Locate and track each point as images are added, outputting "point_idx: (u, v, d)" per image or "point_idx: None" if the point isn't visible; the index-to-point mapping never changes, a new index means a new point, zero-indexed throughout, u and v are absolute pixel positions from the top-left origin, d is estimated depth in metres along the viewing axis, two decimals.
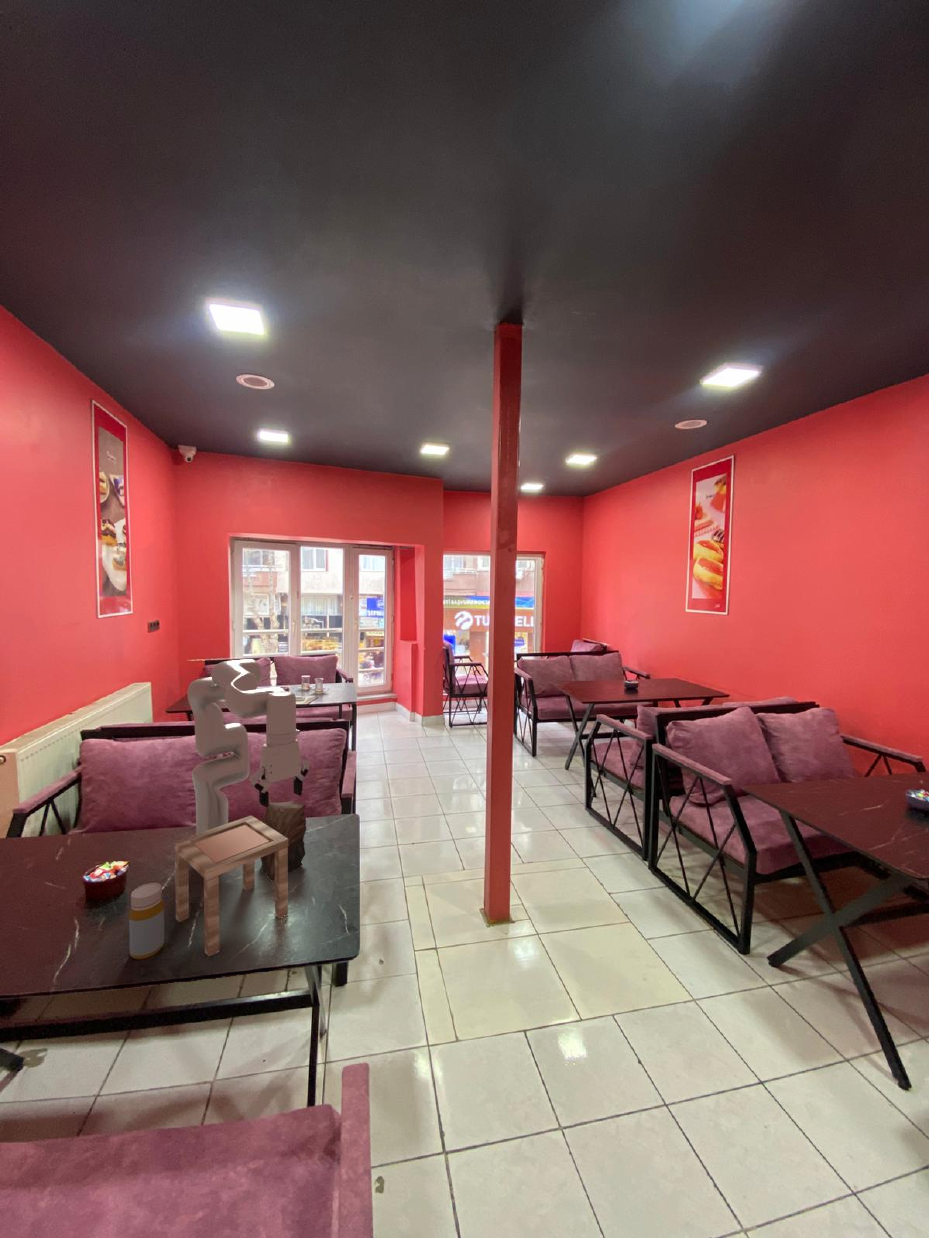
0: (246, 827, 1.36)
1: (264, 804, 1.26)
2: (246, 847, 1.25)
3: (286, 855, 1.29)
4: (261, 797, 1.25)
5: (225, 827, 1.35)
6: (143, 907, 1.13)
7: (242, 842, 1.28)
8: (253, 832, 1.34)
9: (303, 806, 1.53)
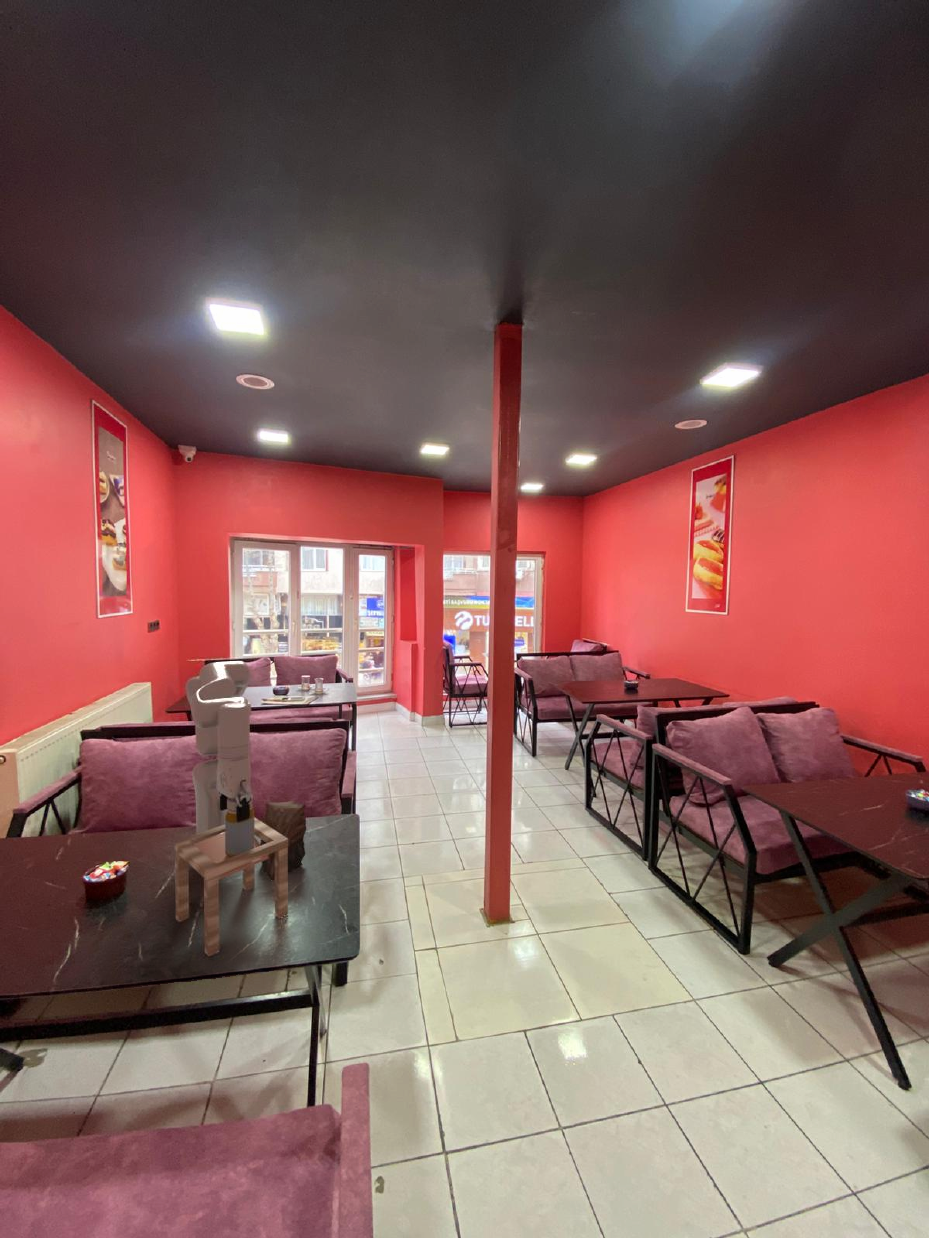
0: None
1: (246, 817, 1.24)
2: None
3: (286, 855, 1.29)
4: (246, 810, 1.23)
5: None
6: None
7: None
8: None
9: (303, 806, 1.53)
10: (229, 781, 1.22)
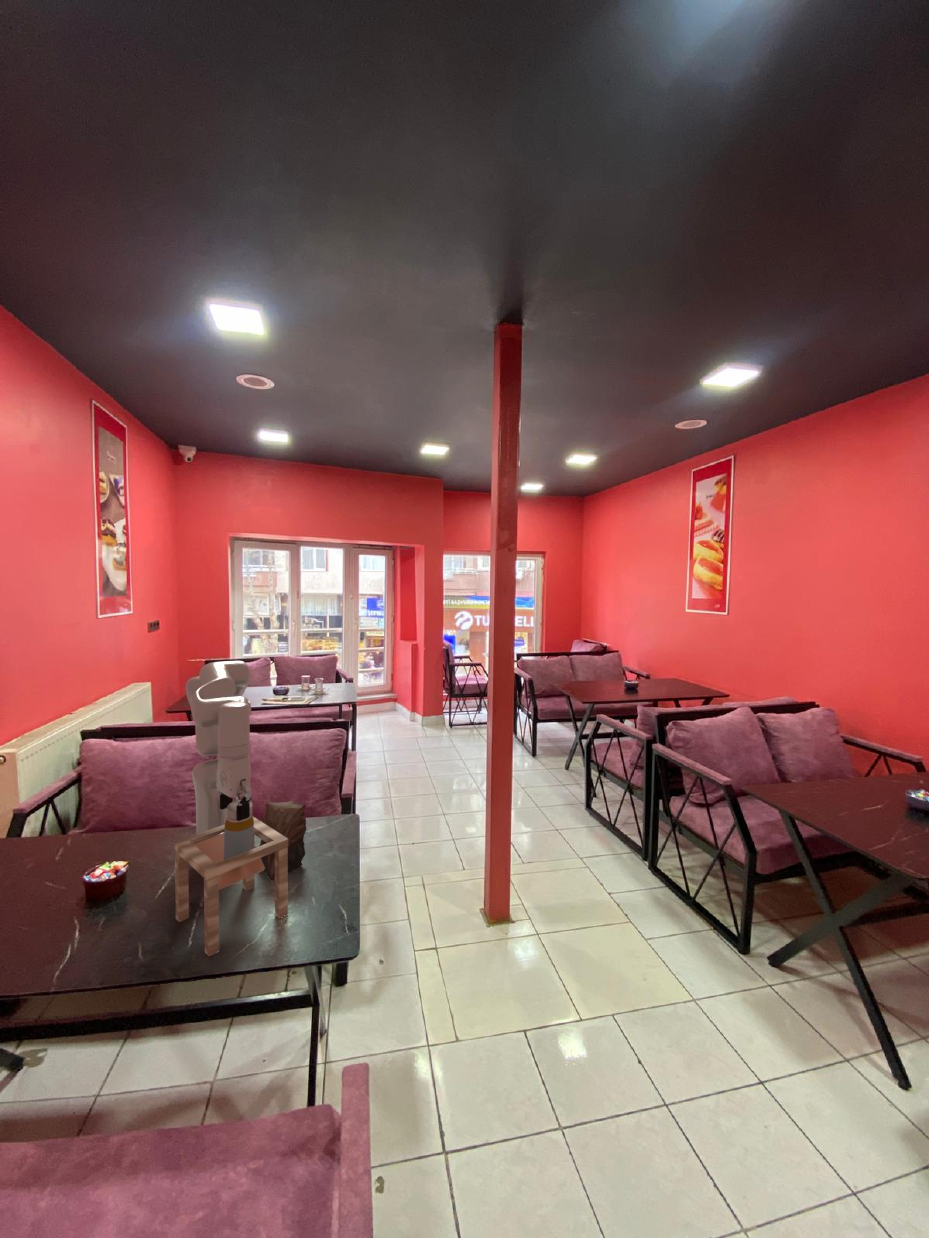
0: None
1: (245, 816, 1.24)
2: (242, 872, 1.27)
3: (286, 855, 1.29)
4: (246, 809, 1.23)
5: None
6: None
7: None
8: None
9: (303, 806, 1.53)
10: (229, 780, 1.22)
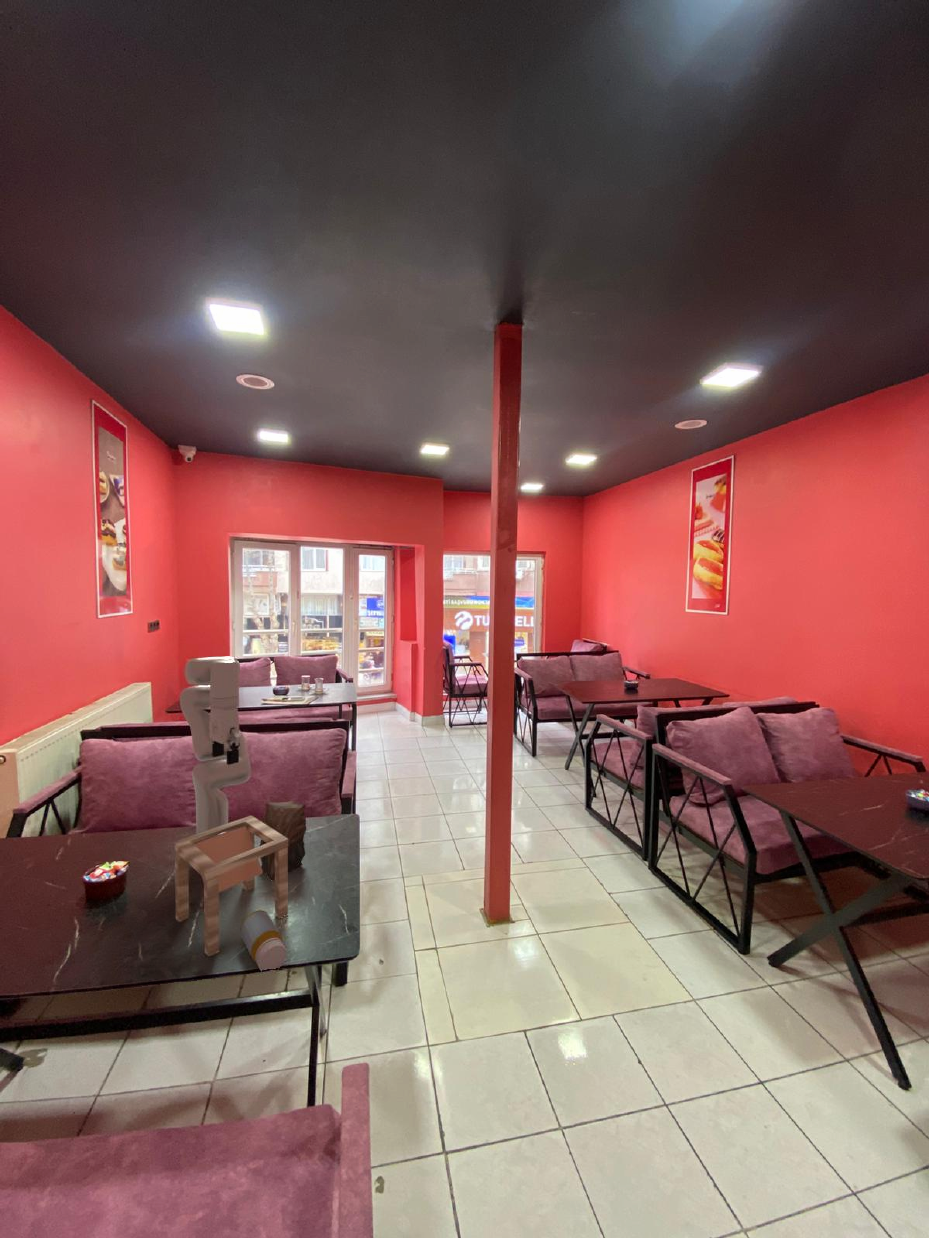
0: (246, 832, 1.37)
1: (235, 761, 1.38)
2: (240, 876, 1.28)
3: (286, 855, 1.29)
4: (235, 755, 1.37)
5: (225, 827, 1.35)
6: None
7: None
8: (251, 846, 1.35)
9: (303, 806, 1.53)
10: (220, 728, 1.36)
